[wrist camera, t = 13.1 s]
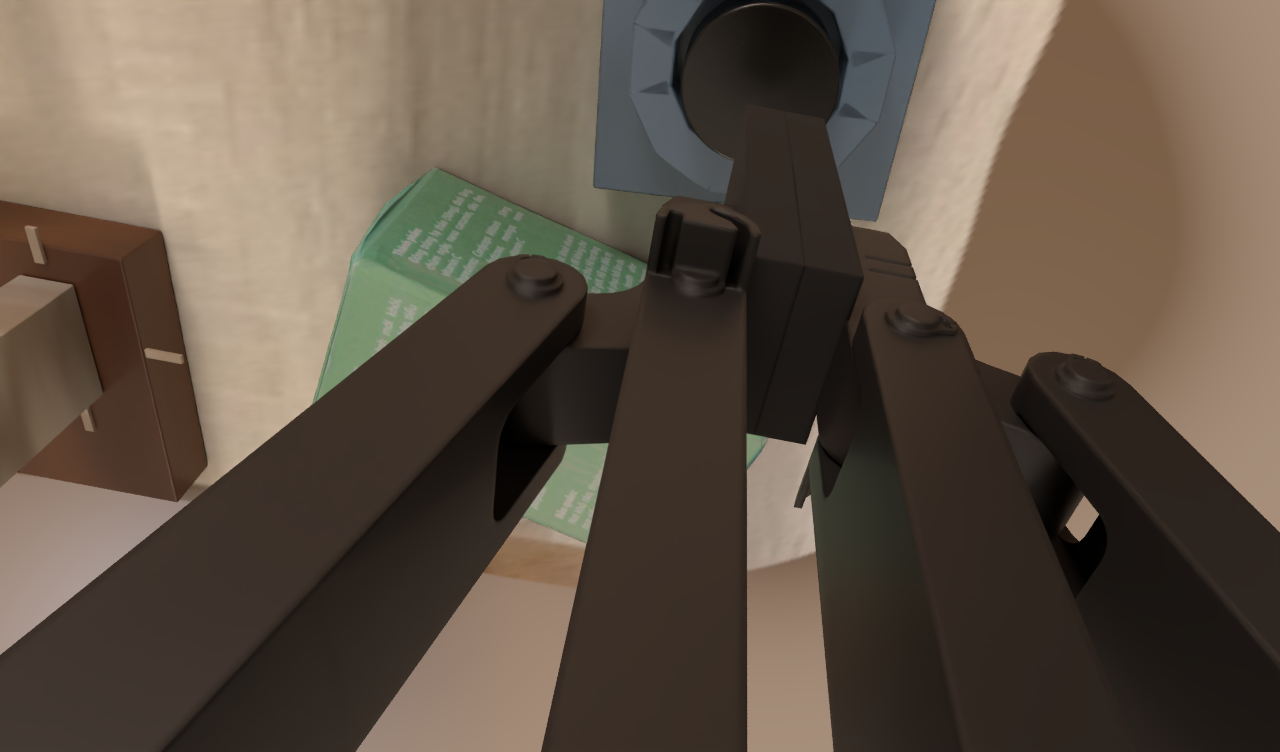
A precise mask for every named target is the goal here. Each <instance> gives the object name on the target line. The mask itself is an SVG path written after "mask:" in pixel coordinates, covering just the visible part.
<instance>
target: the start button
mask: <svg viewBox="0 0 1280 752" xmlns="http://www.w3.org/2000/svg"><path fill="white" fill-rule="evenodd" d="M839 88H840V71H839V63H838V59H837V55H836V52H835V50H834V47H833V44H832V42H831V39H830V37H829V34H828V32H827V29H826V28H825V26H824V24H823V22H822V21H821V19H820V18H819V17H818V16H817V14H816V13H815V12H814V11H813V10H812V9H811V8H810V7H809V6H807V5H806V4H805V3H803V2H802V1H800V0H725V1H724V2H722V3H720V4H719V5H718V6H716V7H715V8H714V9H713V10H712V11H710V12H709V13H708V14H707V15H706V16H705V18H704V19H703V20H702V21H701V23H700V24H699V25H698V27H697V29H696V30H695V32H694V33H693V36H692V38H691V40H690V42H689V45H688V49H687V52H686V56H685V60H684V64H683V68H682V74H681V84H680V92H681V101H682V106H683V110H684V113H685V116H686V118H687V120H688V122H689V124H690V126H691V128H692V130H693V131H694V132H695V134H696V135H697V137H698V138H699V139H700V140H701V141H702V142H703V143H704V144H705V145H706V146H707V147H709V148H710V149H711V150H713V151H714V152H716V153H717V154H719V155H721V156H723V157H725V158H727V159H730V160H733V161H734V158H735V153H736V149H737V145H738V140H739V136H740V131H741V127H742V123H743V118H744V114H745V110H746V105H747V104H749V105H755V106H760V107H765V108H770V109H776V110H781V111H786V112H791V113H797V114H802V115H807V116H812V117H818V118H823V119H825V123H826V124H827V123H828V121H829V119H830V118H831V116H832V113H833V111H834V109H835V106H836V102H837V99H838V94H839Z"/></svg>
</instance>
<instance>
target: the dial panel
mask: <svg viewBox="0 0 1280 752" xmlns="http://www.w3.org/2000/svg"><path fill="white" fill-rule="evenodd" d="M19 275H23V276H29V277H34V278H39V279H45V280H50V281H55V282H61V283H66V284H71V285H73V286H74V289H75V293H76V296H77V300H78V303H79V307H80V311H81V314H82V318H83V322H84V325H85V329H86V332H87V336H88V340H89V343H90V347H91V351H92V354H93V358H94V361H95V365H96V369H97V372H98V376H99V380H100V383H101V387H102V390H103V394H102V395H101V396H100V397H99V398H98V399H97V400H96V401H95V402H94V403H92V404H91V405H90V406H89V407H88V408H87V409H86V410H85V411H84V412H83V413H82V414H80V415H79V416H78V417H77V418H76V419H75V420H74V421H73V422H72V423H71V424H69V425H68V426H67V427H66V428H65V429H64V430H63V431H62V432H61V433H60V434H58V435H57V436H56V437H55V438H54V439H53V440H52V441H51V442H50V443H49V444H48V445H46V446H45V447H44V448H43V449H42V450H41V451H40V452H39V453H38V454H37V455H35V456H34V457H33V458H32V459H31V460H30V461H29V462H28V463H27V464H26V465H25V466H23V467H22V468H21V469H20V470H19V471H18V472H19V473H24V474H29V475H35V476H40V477H45V478H51V479H56V480H61V481H67V482H72V483H77V484H83V485H88V486H94V487H99V488H104V489H109V490H115V491H120V492H125V493H131V494H136V495H141V496H147V497H152V498H157V499H163V500H168V501H174V502H178V501H179V500H180V499H181V497H182V496H183V495H184V494H185V493H186V491H187V490H188V489H189V488H190V486H191V485H192V484H193V483H194V482H195V480H196V479H197V478H198V477H199V475H200V474H201V473H202V472H203V471H204V469H205V468H206V467H207V461H206V456H205V451H204V446H203V441H202V436H201V431H200V426H199V421H198V416H197V410H196V405H195V400H194V395H193V390H192V385H191V380H190V375H189V370H188V365H187V360H186V355H185V350H184V345H183V340H182V335H181V329H180V324H179V319H178V314H177V309H176V304H175V299H174V294H173V289H172V284H171V279H170V274H169V269H168V264H167V259H166V253H165V248H164V243H163V238H162V233H161V231H158V230H153V229H148V228H142V227H137V226H132V225H127V224H121V223H116V222H111V221H105V220H100V219H95V218H89V217H84V216H79V215H73V214H68V213H63V212H57V211H52V210H47V209H42V208H36V207H31V206H26V205H20V204H15V203H10V202H4V201H0V287H2V286H3V285H5V284H7V283H8V282H10V281H11V280H13V279H14V278H16V277H17V276H19Z"/></svg>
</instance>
